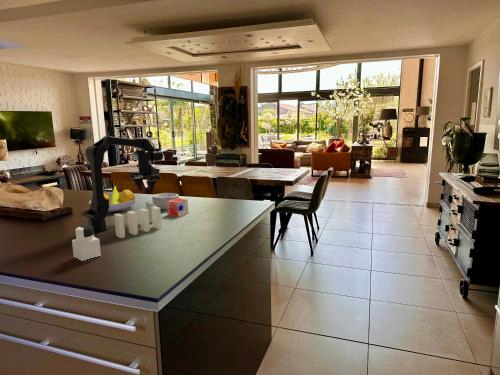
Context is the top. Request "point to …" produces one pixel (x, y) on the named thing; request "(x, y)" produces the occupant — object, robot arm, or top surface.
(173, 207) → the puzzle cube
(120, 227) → the tile
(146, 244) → the top surface
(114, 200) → the fruit bowl
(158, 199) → the paper bowls
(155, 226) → the tile
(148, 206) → the tile
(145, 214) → the tile
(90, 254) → the white block with post
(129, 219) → the tile
